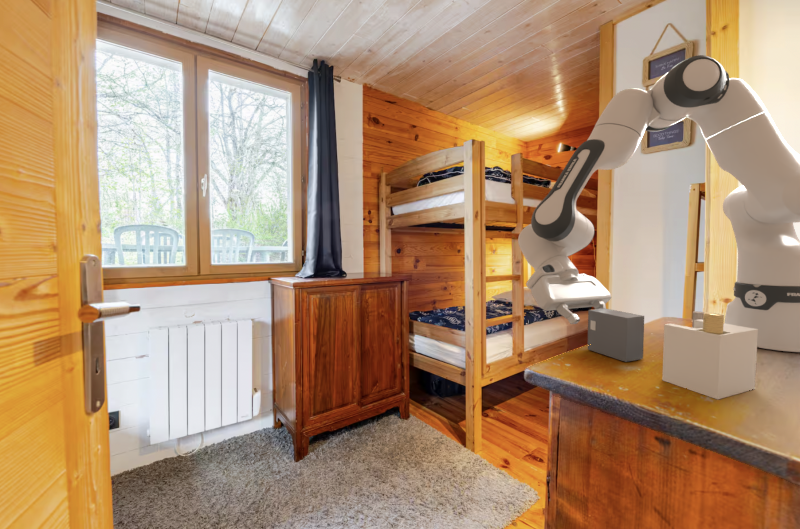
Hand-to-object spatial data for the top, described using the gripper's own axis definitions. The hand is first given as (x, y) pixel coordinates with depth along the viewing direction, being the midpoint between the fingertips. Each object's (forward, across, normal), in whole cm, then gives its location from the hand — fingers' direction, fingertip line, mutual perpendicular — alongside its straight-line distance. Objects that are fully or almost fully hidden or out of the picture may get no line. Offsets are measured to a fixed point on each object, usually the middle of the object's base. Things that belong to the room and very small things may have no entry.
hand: (591, 321), depth 78 cm
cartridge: (+8, -1, -1) cm, 8 cm away
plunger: (+17, +2, +17) cm, 24 cm away
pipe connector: (+15, -13, +5) cm, 20 cm away
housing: (+20, -1, +11) cm, 23 cm away
